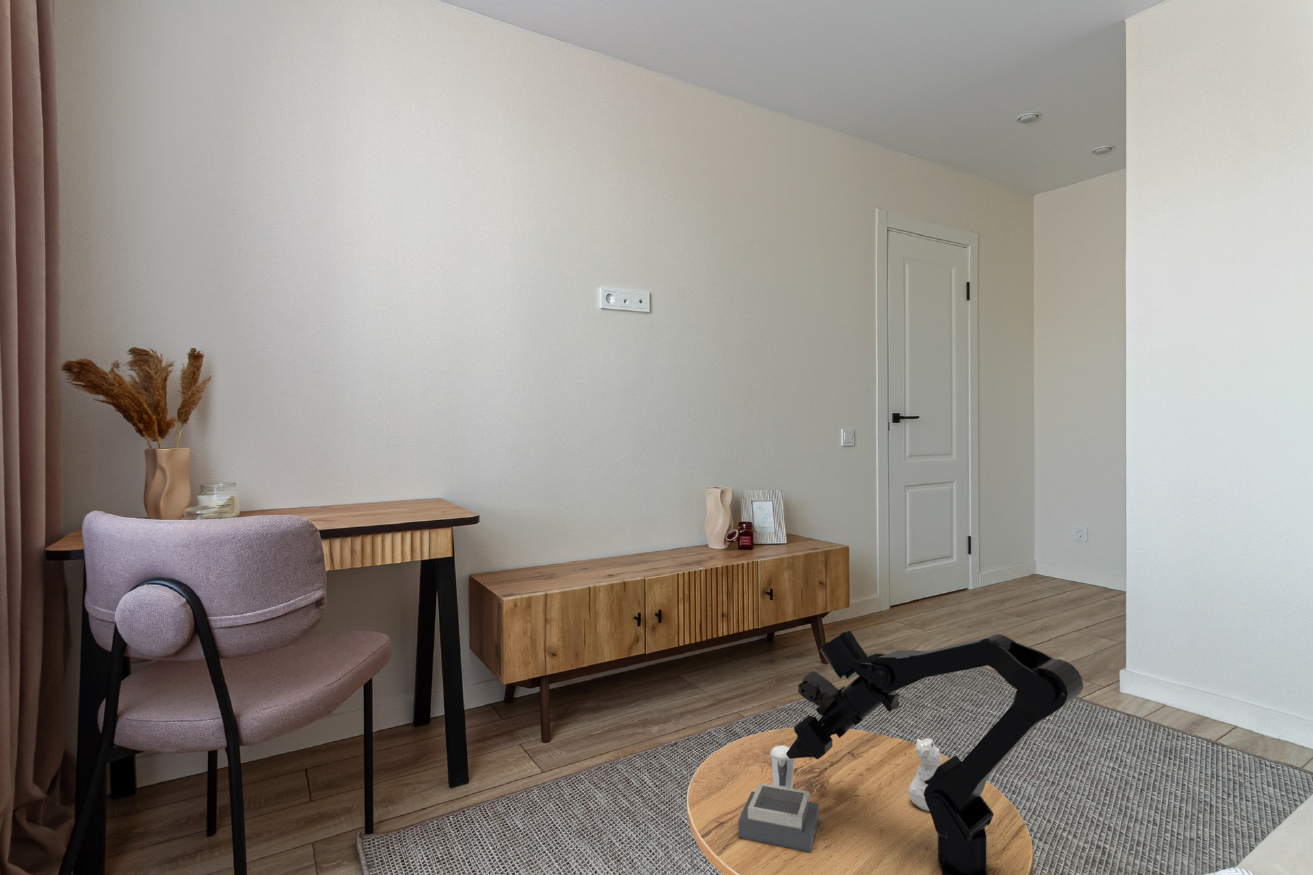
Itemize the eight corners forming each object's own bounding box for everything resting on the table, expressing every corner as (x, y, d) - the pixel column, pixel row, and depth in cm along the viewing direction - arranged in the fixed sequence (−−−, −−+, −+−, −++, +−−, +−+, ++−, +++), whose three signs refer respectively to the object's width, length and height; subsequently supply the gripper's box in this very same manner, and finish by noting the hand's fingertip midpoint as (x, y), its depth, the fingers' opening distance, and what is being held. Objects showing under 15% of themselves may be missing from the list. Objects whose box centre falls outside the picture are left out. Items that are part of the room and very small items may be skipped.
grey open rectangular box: (818, 820, 121) (818, 791, 121) (810, 852, 112) (810, 821, 112) (751, 807, 125) (751, 780, 125) (738, 837, 116) (738, 808, 116)
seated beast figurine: (966, 821, 121) (966, 753, 121) (916, 819, 121) (915, 751, 121) (949, 793, 130) (948, 730, 130) (902, 791, 131) (901, 728, 131)
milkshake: (799, 804, 126) (799, 750, 126) (770, 801, 128) (769, 747, 128) (799, 791, 131) (799, 739, 131) (771, 789, 132) (770, 737, 132)
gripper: (844, 649, 132) (791, 693, 139) (804, 677, 117) (747, 725, 123) (885, 699, 127) (828, 743, 134) (850, 735, 112) (787, 782, 119)
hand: (798, 746), depth 128 cm, fingers open, 9 cm apart
